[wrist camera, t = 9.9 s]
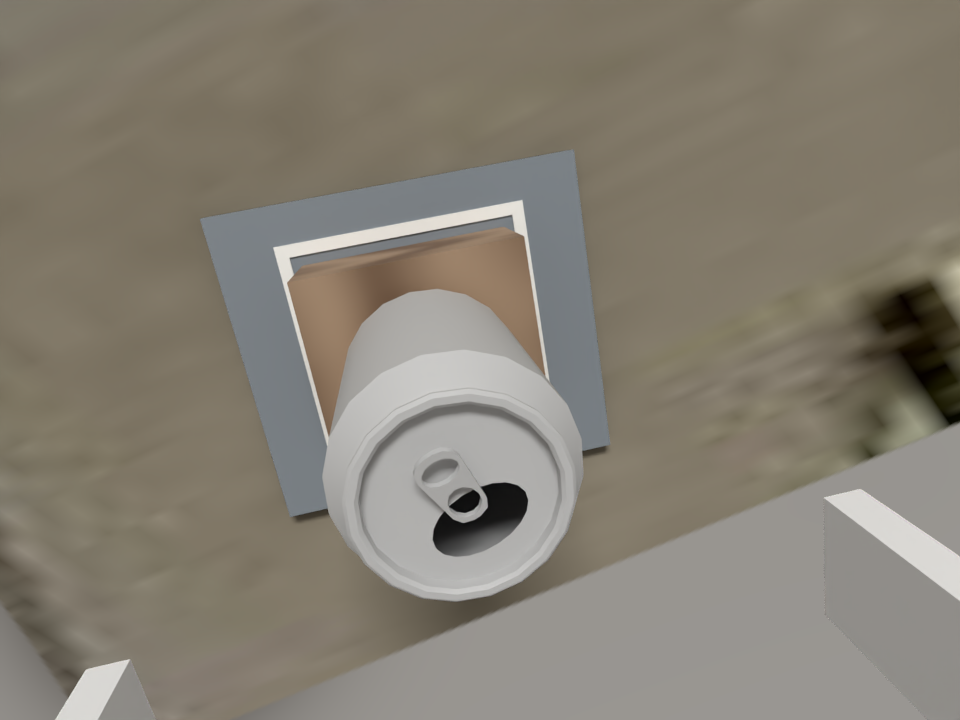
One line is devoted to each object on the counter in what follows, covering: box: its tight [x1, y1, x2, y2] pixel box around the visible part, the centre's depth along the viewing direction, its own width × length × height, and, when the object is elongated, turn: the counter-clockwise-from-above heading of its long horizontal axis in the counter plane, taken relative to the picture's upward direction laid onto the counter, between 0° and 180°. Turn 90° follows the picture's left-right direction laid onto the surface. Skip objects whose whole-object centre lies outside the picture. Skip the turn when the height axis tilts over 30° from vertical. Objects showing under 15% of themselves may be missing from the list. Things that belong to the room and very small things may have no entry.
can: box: [322, 289, 583, 602], centre depth 22 cm, size 8×8×12 cm
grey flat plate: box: [200, 150, 610, 517], centre depth 33 cm, size 18×16×1 cm
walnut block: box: [287, 227, 545, 436], centre depth 30 cm, size 10×10×5 cm
